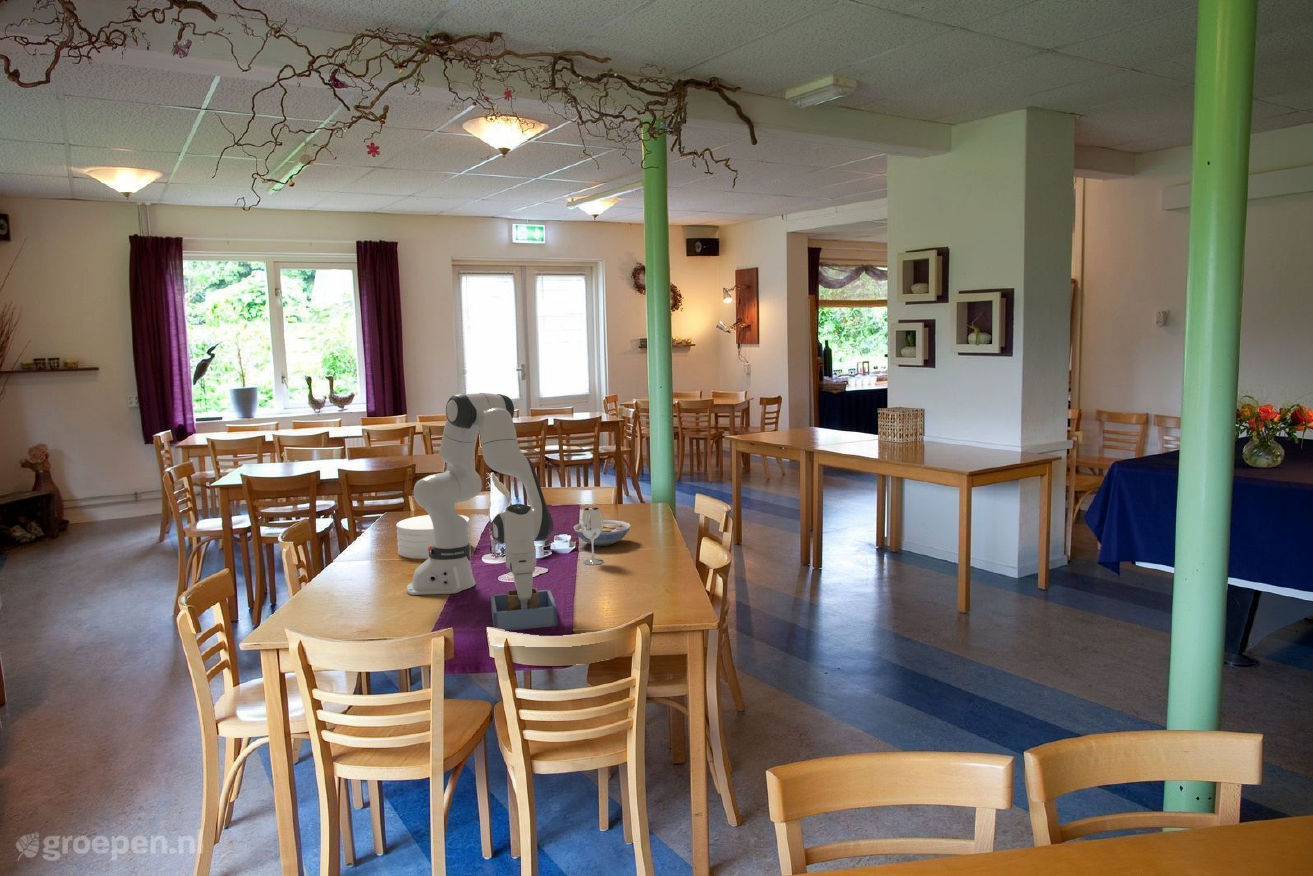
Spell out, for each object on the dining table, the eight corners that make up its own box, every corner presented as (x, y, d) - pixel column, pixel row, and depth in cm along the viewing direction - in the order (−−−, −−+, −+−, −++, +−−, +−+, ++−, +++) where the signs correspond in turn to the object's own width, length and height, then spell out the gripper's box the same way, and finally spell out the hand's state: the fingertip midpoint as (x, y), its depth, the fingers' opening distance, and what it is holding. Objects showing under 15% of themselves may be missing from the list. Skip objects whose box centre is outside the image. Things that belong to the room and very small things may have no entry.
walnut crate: (508, 616, 254) (507, 596, 253) (507, 610, 260) (506, 590, 259) (539, 613, 256) (538, 593, 255) (537, 607, 262) (536, 587, 261)
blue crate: (494, 632, 247) (493, 613, 246) (491, 612, 265) (490, 595, 264) (557, 625, 251) (556, 607, 250) (550, 607, 269) (549, 589, 268)
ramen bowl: (629, 551, 334) (629, 530, 333) (570, 552, 334) (569, 532, 333) (632, 536, 359) (632, 516, 358) (577, 537, 359) (576, 518, 358)
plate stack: (479, 541, 358) (478, 513, 357) (457, 558, 331) (456, 529, 329) (414, 541, 361) (412, 514, 360) (386, 558, 333) (384, 529, 332)
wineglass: (604, 559, 324) (602, 506, 321) (603, 564, 316) (601, 510, 314) (583, 559, 323) (581, 507, 321) (582, 565, 316) (580, 511, 313)
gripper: (507, 552, 265) (509, 596, 267) (512, 569, 245) (514, 617, 247) (528, 550, 266) (530, 594, 268) (535, 568, 247) (537, 615, 248)
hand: (523, 605), depth 257 cm, fingers closed on walnut crate, 6 cm apart
